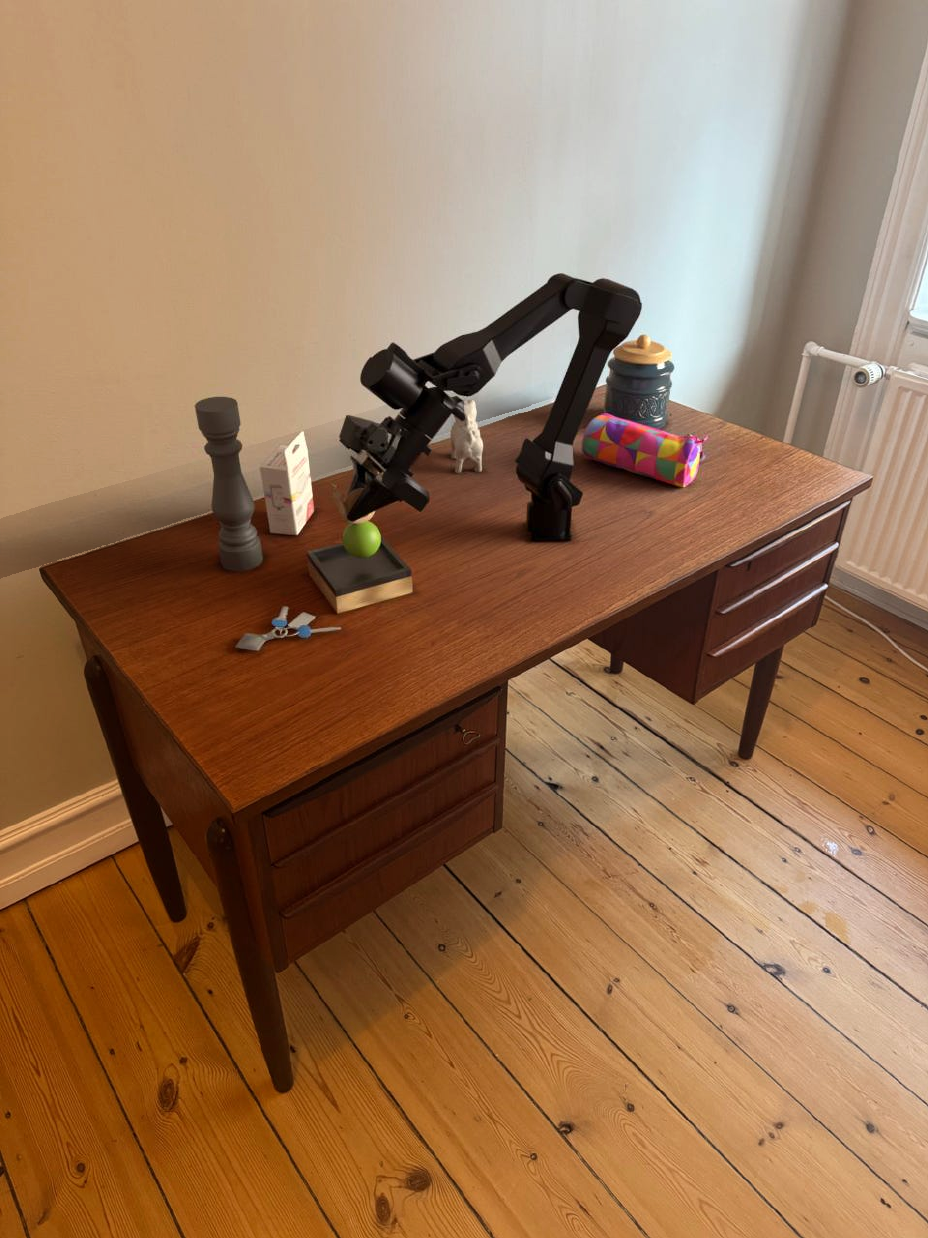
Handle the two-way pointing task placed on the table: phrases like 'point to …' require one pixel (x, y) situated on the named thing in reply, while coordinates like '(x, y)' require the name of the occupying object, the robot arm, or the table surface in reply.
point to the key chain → (298, 623)
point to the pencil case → (643, 449)
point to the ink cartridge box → (288, 487)
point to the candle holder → (229, 484)
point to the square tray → (359, 576)
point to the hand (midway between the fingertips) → (346, 517)
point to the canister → (639, 382)
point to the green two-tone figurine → (357, 527)
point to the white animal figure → (467, 439)
